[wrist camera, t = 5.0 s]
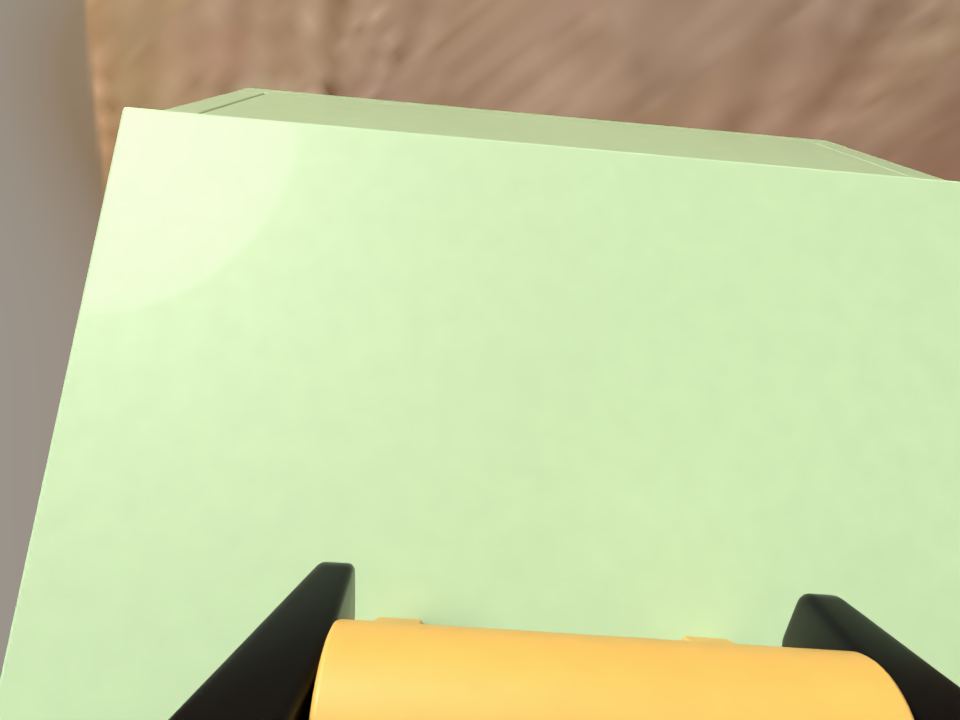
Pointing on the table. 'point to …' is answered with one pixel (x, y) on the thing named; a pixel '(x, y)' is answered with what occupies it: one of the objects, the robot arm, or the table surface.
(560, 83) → the table surface
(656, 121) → the table surface
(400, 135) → the lid
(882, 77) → the table surface
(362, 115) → the box
